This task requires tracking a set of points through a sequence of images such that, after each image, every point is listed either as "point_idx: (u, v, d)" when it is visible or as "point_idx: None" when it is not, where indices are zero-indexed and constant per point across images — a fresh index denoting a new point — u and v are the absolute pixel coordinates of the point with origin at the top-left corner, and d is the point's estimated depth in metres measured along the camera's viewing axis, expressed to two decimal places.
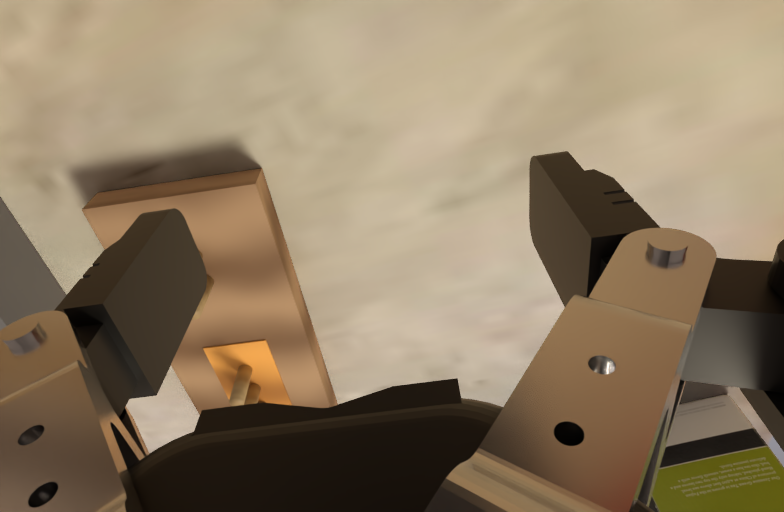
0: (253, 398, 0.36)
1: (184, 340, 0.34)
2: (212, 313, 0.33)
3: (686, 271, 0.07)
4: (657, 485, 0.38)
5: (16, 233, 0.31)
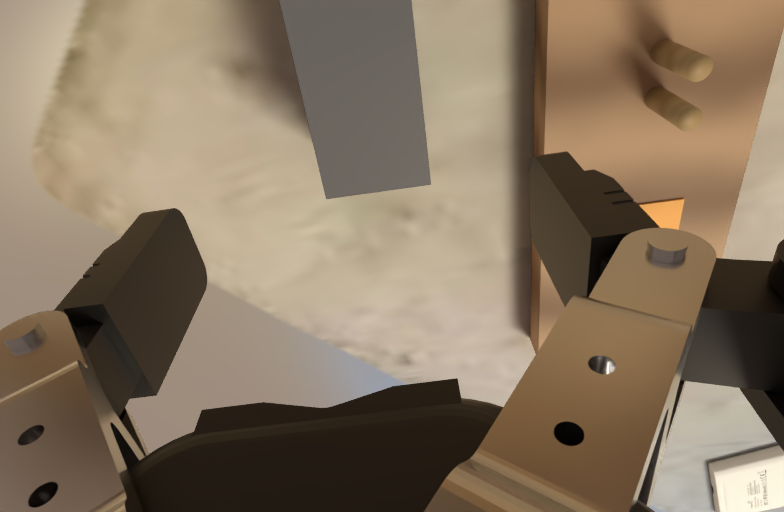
0: None
1: None
2: (636, 152, 0.24)
3: (686, 271, 0.07)
4: None
5: None
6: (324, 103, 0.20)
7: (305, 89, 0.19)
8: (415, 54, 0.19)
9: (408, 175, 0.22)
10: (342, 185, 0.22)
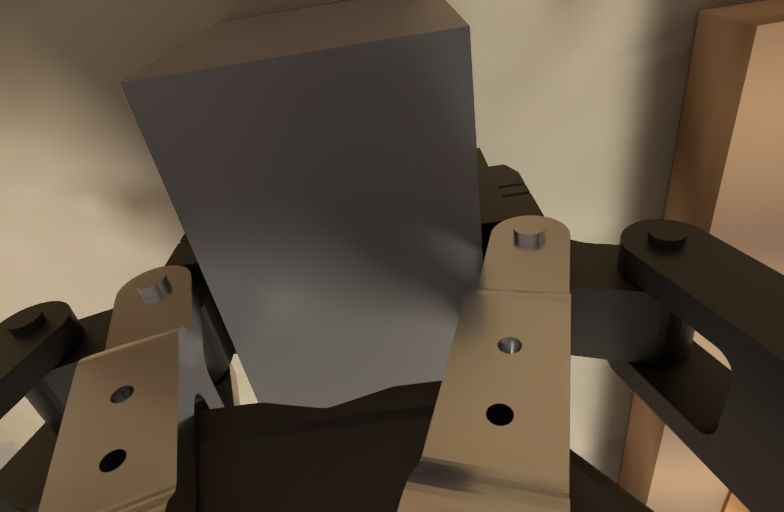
0: None
1: None
2: None
3: (539, 252, 0.07)
4: None
5: None
6: (273, 330, 0.09)
7: (229, 307, 0.09)
8: (477, 240, 0.08)
9: None
10: None
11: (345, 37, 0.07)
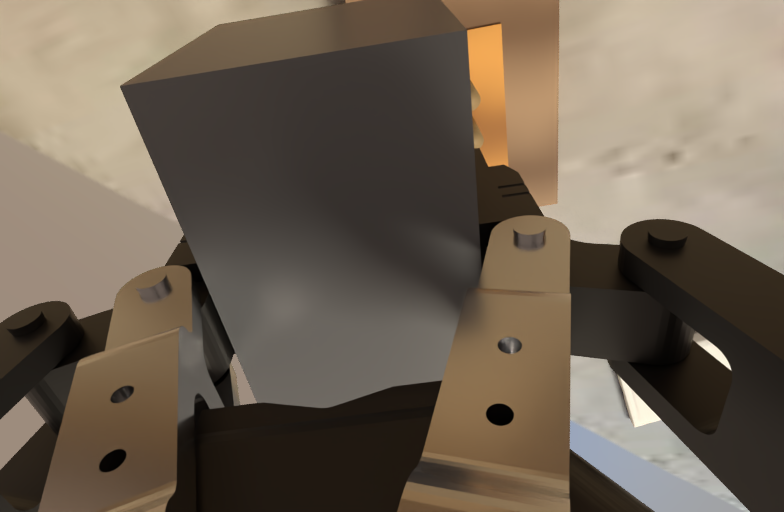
0: (473, 122, 0.26)
1: None
2: None
3: (538, 252, 0.07)
4: None
5: None
6: (272, 331, 0.09)
7: (228, 309, 0.09)
8: (476, 242, 0.08)
9: None
10: None
11: (343, 40, 0.07)
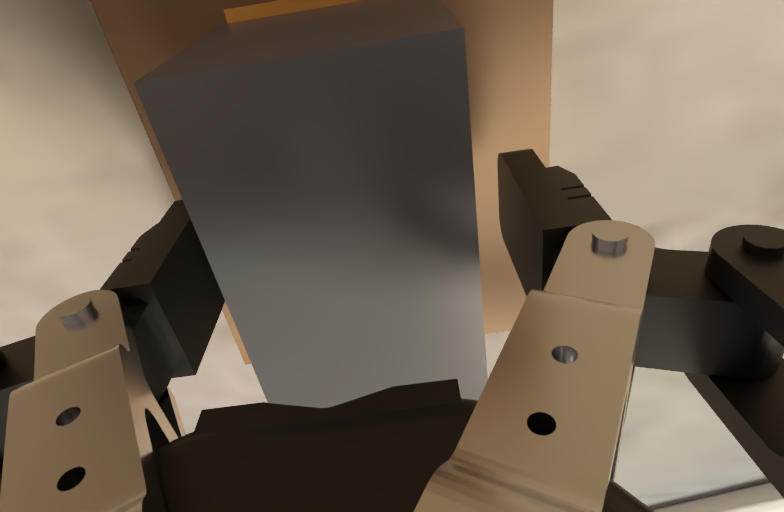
0: None
1: None
2: None
3: (625, 260, 0.07)
4: None
5: None
6: (278, 320, 0.09)
7: (235, 298, 0.09)
8: (474, 232, 0.08)
9: None
10: None
11: (346, 38, 0.07)
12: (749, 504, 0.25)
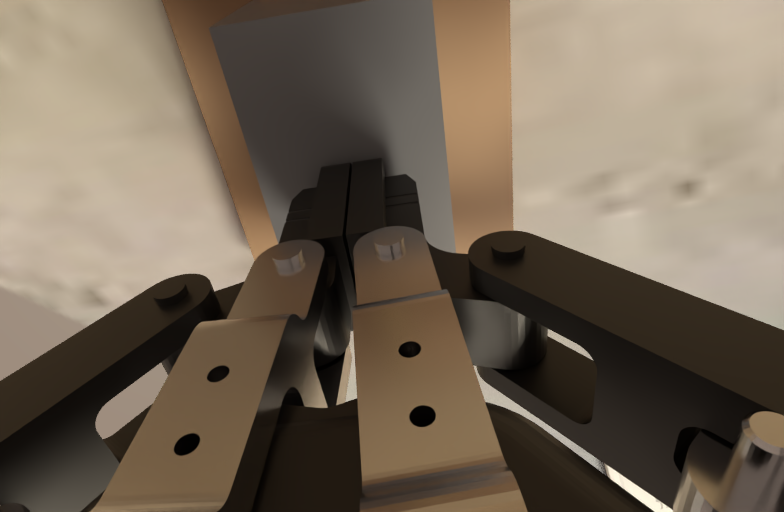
0: None
1: None
2: None
3: (390, 263, 0.08)
4: None
5: None
6: None
7: (270, 194, 0.12)
8: (442, 142, 0.12)
9: None
10: None
11: None
12: None
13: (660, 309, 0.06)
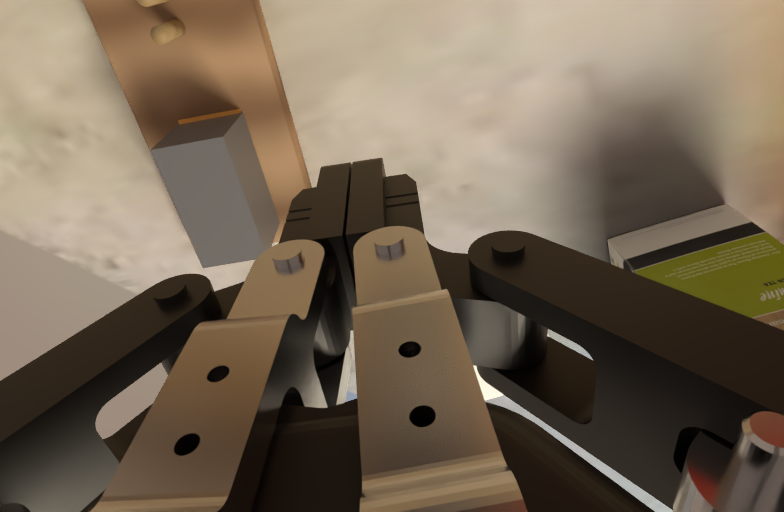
0: None
1: (159, 109, 0.34)
2: (185, 72, 0.33)
3: (390, 262, 0.08)
4: (651, 276, 0.37)
5: (254, 155, 0.35)
6: (191, 213, 0.33)
7: (178, 206, 0.32)
8: (240, 185, 0.32)
9: (251, 252, 0.34)
10: (211, 259, 0.34)
11: (200, 137, 0.31)
12: None
13: (659, 309, 0.06)
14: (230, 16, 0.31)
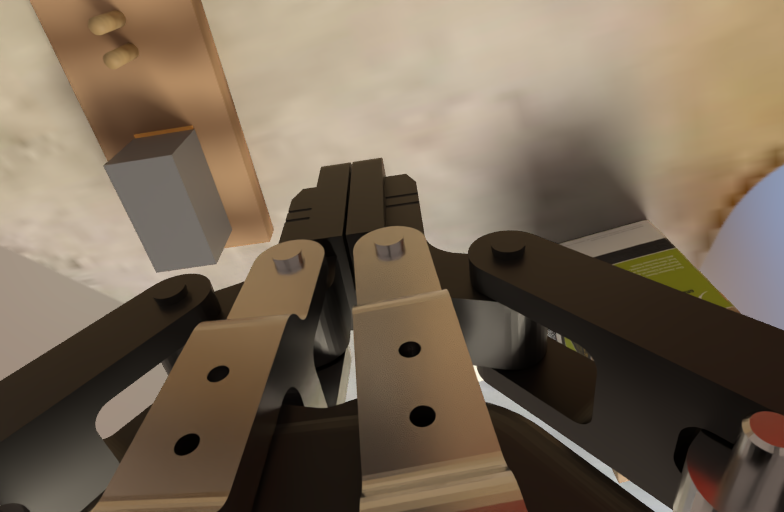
0: None
1: (115, 124, 0.37)
2: (139, 91, 0.35)
3: (390, 262, 0.08)
4: None
5: (206, 168, 0.38)
6: (144, 223, 0.35)
7: (131, 216, 0.35)
8: (188, 199, 0.34)
9: (201, 259, 0.37)
10: (164, 265, 0.37)
11: (150, 155, 0.33)
12: None
13: (660, 309, 0.06)
14: (180, 42, 0.34)
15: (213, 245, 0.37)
